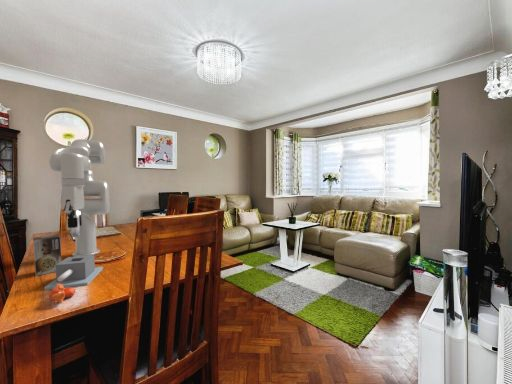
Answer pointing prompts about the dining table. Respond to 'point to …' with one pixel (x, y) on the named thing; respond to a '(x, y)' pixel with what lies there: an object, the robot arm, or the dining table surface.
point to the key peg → (76, 231)
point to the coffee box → (46, 253)
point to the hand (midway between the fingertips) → (74, 226)
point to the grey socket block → (75, 272)
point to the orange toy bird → (60, 293)
